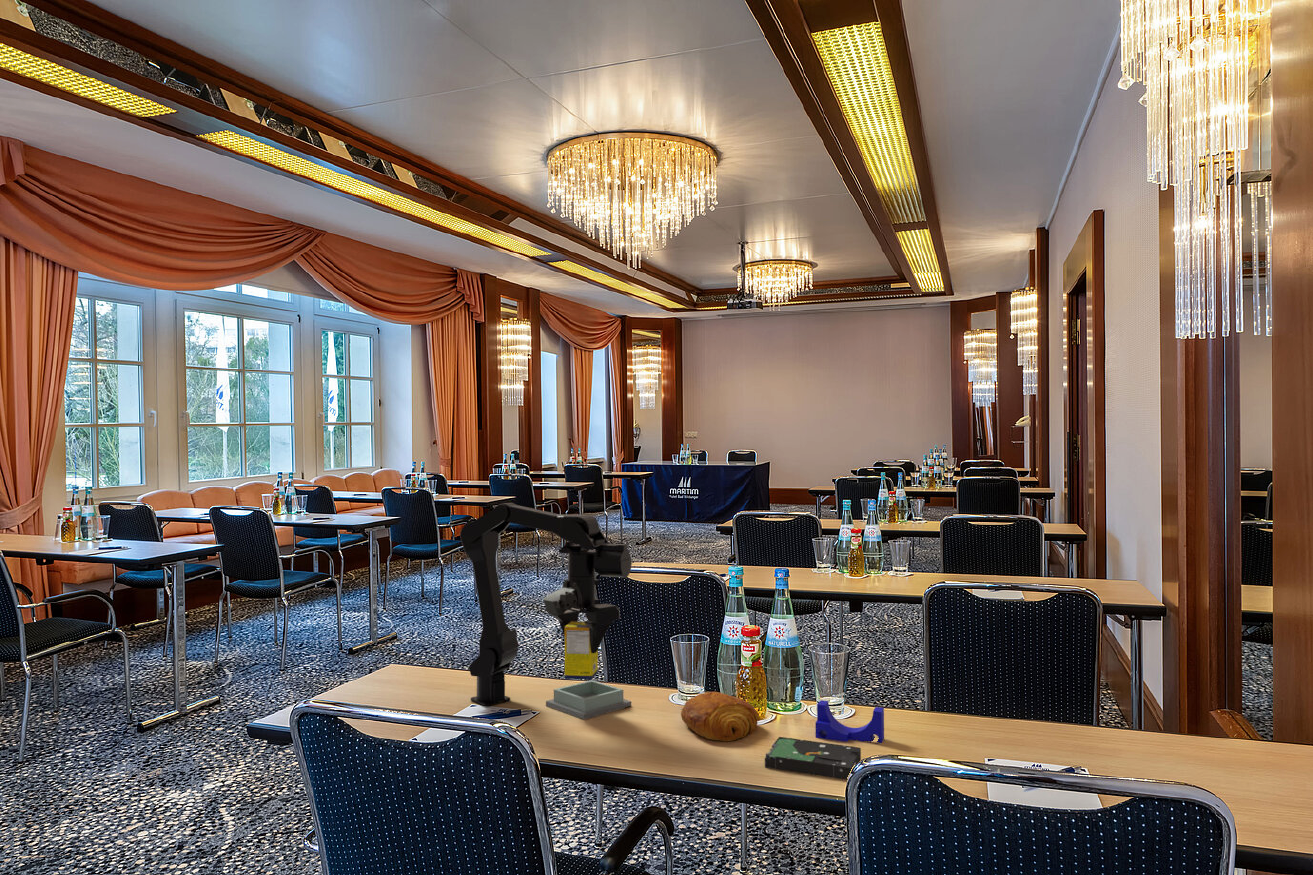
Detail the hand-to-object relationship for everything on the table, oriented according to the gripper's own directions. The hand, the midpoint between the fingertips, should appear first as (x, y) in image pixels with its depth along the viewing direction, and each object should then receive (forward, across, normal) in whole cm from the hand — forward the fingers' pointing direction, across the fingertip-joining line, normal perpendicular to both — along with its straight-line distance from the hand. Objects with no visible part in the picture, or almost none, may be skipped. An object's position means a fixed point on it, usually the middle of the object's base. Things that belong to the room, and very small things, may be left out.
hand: (581, 649), depth 171 cm
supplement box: (+6, 0, 0) cm, 6 cm away
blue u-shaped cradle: (+13, +48, +27) cm, 57 cm away
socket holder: (+13, -2, +3) cm, 13 cm away
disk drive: (+13, +51, +12) cm, 54 cm away
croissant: (+13, +28, +13) cm, 33 cm away
